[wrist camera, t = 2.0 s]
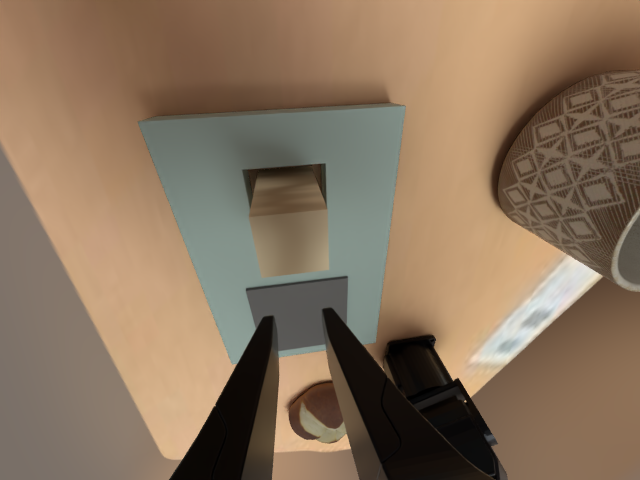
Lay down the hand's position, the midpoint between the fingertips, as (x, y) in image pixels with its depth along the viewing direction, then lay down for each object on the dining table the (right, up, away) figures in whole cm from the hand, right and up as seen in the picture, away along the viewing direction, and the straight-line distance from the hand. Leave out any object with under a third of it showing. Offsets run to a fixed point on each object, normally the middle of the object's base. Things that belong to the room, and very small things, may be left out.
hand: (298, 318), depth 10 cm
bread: (+2, -22, +30) cm, 38 cm away
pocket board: (-2, +2, +14) cm, 14 cm away
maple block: (-2, +7, +11) cm, 13 cm away
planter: (+22, +10, +13) cm, 27 cm away
